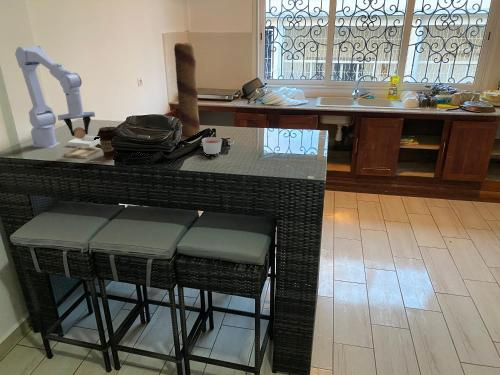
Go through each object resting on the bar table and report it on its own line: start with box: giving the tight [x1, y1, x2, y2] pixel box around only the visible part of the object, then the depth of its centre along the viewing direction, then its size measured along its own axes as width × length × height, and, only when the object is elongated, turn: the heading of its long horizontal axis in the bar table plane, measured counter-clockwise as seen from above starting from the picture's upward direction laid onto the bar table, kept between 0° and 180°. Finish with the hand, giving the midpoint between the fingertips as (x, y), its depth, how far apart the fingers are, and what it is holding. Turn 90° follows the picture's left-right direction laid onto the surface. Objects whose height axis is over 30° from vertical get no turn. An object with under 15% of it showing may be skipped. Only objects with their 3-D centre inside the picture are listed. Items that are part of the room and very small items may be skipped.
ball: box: [73, 126, 87, 139], centre depth 169 cm, size 5×5×5 cm
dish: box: [67, 135, 100, 148], centre depth 186 cm, size 11×11×2 cm
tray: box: [63, 146, 102, 159], centre depth 173 cm, size 11×11×2 cm
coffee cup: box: [97, 126, 120, 160], centre depth 168 cm, size 9×8×13 cm
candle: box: [201, 136, 223, 155], centre depth 176 cm, size 9×9×6 cm
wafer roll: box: [173, 42, 201, 137], centre depth 196 cm, size 10×11×45 cm
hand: (79, 134), depth 169 cm, fingers closed on ball, 5 cm apart
